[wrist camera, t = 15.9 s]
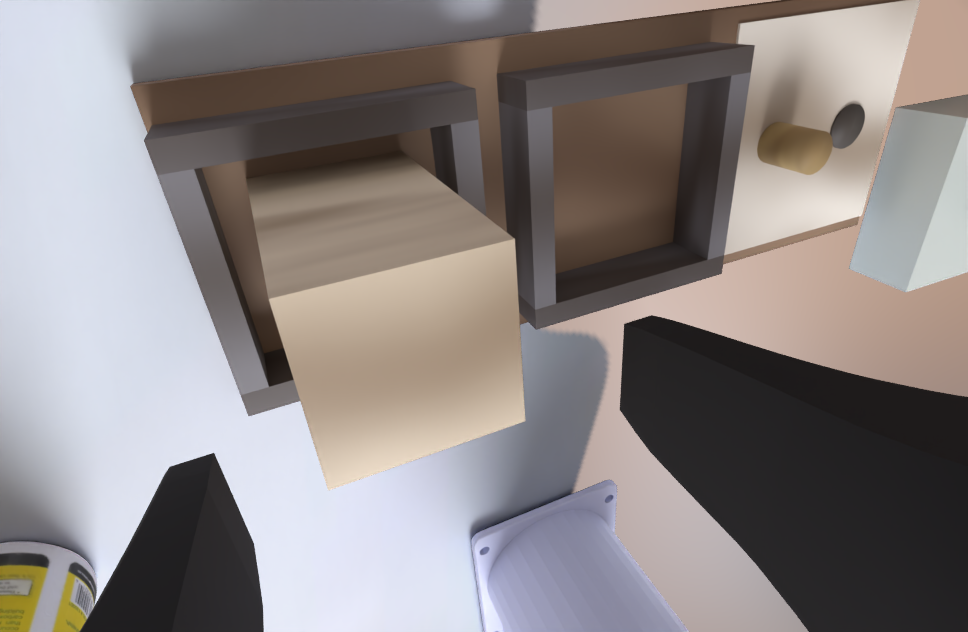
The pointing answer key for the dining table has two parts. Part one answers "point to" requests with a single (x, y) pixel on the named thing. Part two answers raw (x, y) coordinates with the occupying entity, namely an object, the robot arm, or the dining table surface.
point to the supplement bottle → (44, 588)
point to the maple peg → (389, 310)
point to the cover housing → (919, 199)
